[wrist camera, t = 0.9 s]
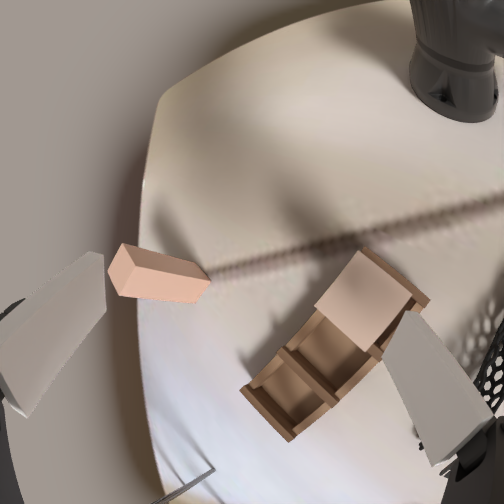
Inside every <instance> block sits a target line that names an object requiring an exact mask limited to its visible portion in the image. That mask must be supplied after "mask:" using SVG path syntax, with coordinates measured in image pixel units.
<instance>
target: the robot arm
mask: <svg viewBox="0 0 504 504" xmlns="http://www.w3.org/2000/svg"><path fill="white" fill-rule="evenodd" d="M410 4H411V9H412V14H413V19H414V25H415V31H416V38H417V43H416V46H415V49H414V52H413V55H412V59H411V62H410V66H409V72H410V81H411V85H412V88H413V90H414V91H415V93H416V94H417V96H418V97H419V98H420V99H421V100H422V101H423V102H424V103H425V104H426V105H427V106H429V107H430V108H431V109H433V110H434V111H436V112H438V113H439V114H441V115H443V116H445V117H448V118H450V119H453V120H456V121H460V122H466V123H478V122H482V121H485V120H487V119H489V118H490V117H491V116H492V115H493V114H494V112H495V110H496V106H497V103H498V96H499V94H498V86H497V80H496V75H495V69H494V59H495V55H497V56H500V57H502V58H504V0H410ZM106 311H107V309H106V297H105V282H104V255H102V254H98V253H94V252H90V251H89V252H87V253H86V254H84V255H83V256H81V257H80V258H79V259H77V260H76V261H74V262H73V263H72V264H70V265H69V266H68V267H66V268H65V269H63V270H62V271H61V272H59V273H58V274H57V275H55V276H54V277H53V278H52V279H50V280H49V281H48V282H46V283H45V284H44V285H42V286H41V287H40V288H39V289H38V290H36V291H35V292H34V293H32V294H31V295H30V296H29V297H28V298H26V299H25V298H24V299H22V300H19V301H17V302H15V303H13V304H12V305H10V306H9V307H8V308H7V309H6V310H4V313H1V314H0V504H24V501H23V498H22V495H21V492H20V489H19V486H18V482H17V479H16V475H15V471H14V467H13V462H12V459H11V453H10V448H9V442H8V436H7V430H6V422H5V413H4V407H3V404H2V402H1V401H2V400H3V398H4V397H5V398H6V399H7V401H8V402H9V404H10V406H11V407H12V408H13V409H14V410H16V411H17V412H19V413H20V414H22V415H23V416H25V417H26V418H29V416H30V415H31V413H32V412H33V410H34V409H35V407H36V405H37V404H38V402H39V401H40V399H41V398H42V396H43V395H44V393H45V392H46V390H47V389H48V388H49V386H50V385H51V383H52V382H53V380H54V379H55V377H56V376H57V375H58V373H59V372H60V370H61V369H62V368H63V366H64V365H65V364H66V362H67V361H68V359H69V358H70V357H71V355H72V354H73V353H74V351H75V350H76V349H77V347H78V346H79V345H80V343H81V342H82V341H83V340H84V338H85V337H86V336H87V335H88V333H89V332H90V331H91V329H92V328H93V327H94V326H95V324H96V323H97V322H98V321H99V319H100V318H101V317H102V316H103V315H104V313H105V312H106ZM381 358H382V360H383V361H384V363H385V365H386V367H387V369H388V371H389V373H390V375H391V377H392V379H393V381H394V383H395V385H396V387H397V389H398V392H399V394H400V396H401V398H402V400H403V402H404V404H405V406H406V408H407V411H408V413H409V415H410V417H411V419H412V421H413V424H414V426H415V428H416V431H417V433H418V435H419V437H420V440H421V442H422V444H423V447H424V449H425V452H426V454H427V457H428V459H429V462H430V464H431V467H434V466H437V465H440V464H443V463H445V462H446V461H448V460H449V459H450V458H451V457H452V456H453V455H455V454H457V456H458V458H457V459H455V460H454V461H453V462H452V463H451V464H449V465H448V466H447V467H446V468H444V469H443V470H442V471H441V472H440V474H439V475H440V476H441V475H443V474H444V473H445V472H447V471H448V470H450V471H449V472H448V473H447V474H446V475H445V476H444V477H446V478H448V482H447V485H446V489H445V492H444V495H443V498H442V502H441V504H504V416H500V417H498V419H497V418H496V417H495V416H494V414H493V413H492V411H491V409H490V408H489V406H488V405H487V403H486V402H485V400H484V399H483V397H482V396H481V394H480V393H479V391H478V390H477V388H476V387H475V385H474V384H473V382H472V381H471V380H470V378H469V377H468V375H467V374H466V373H465V371H464V370H463V369H462V367H461V366H460V364H459V363H458V362H457V360H456V359H455V358H454V356H453V355H452V354H451V353H450V351H449V350H448V349H447V347H446V346H445V345H444V344H443V342H442V341H441V340H440V338H439V337H438V336H437V335H436V334H435V332H434V331H433V330H432V329H431V327H430V326H429V325H428V324H427V323H426V321H425V320H424V319H423V318H422V317H421V315H420V314H419V313H418V312H414V311H405V313H404V315H403V317H402V319H401V321H400V323H399V325H398V327H397V329H396V331H395V333H394V335H393V337H392V339H391V340H390V342H389V344H388V346H387V348H386V350H385V351H384V353H383V355H382V357H381Z"/></svg>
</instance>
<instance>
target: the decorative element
mask: <svg viewBox="0 0 504 504" xmlns="http://www.w3.org/2000/svg"><path fill="white" fill-rule="evenodd" d="M503 328H504V319H503V321H502V323H501V324H500V326H499V328H498V330H497V332H496V334H495V337H494V339H493V342H492V344H491V346H490V349H489V351H488V353H487V354H486V357H485V359H484V361H483V363H482V366H481V368H480V371H479V373H478V375H477V377H476V379H475V380H474V382H473V384H474V385H475V387H476V388H477V390H478V391H479V392H480V393H481V396H482V397H484V396H485V395H489V396H490V400H489V401H485V402H486V403H487V405H488V406H489V408H490V409H491V411H492V413H493V414H495V412H496V411H497V409H498V407H499V406H500V405H501V403H502V402H503V400H504V329H503ZM500 341H502V344H503V348H502V350H501V351H499V349H500V348H499V346H498V345H499V342H500ZM493 352H494V355H493V357H492V358H491V356H492V353H493ZM499 356H501V357H502V359H503V362H502V364H501V365H500V366H497V367H496V363H495V361H496V359H497V357H499ZM490 365H491V367H492V372H491V374H490V376H488V377H487V369H488V367H489V366H490ZM500 370H502V372H503V375H502V377H501V379H499V380H497V381H496V382H495V379H494V376H495V374H496V372H498V371H500ZM479 381H480V383H479ZM488 381H490V383H491V387H490V389H489V390H486V391H485V389H484V385H485V383H486V382H488ZM499 384H502V385H503V386H502V388H501V390H500V392H498V393H496V394H495V395H494V393H493V391H494V389H495V387H496V386H498V385H499ZM498 397H500V399H499V400H498V402H497V403H496V405H495V406H494V407H492V408H491V404H492V403H493V401H494V400H495V399H496V398H498ZM419 446H420V447H419V450H423V449H424V447H423V444H422V442H420V443H419Z"/></svg>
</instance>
